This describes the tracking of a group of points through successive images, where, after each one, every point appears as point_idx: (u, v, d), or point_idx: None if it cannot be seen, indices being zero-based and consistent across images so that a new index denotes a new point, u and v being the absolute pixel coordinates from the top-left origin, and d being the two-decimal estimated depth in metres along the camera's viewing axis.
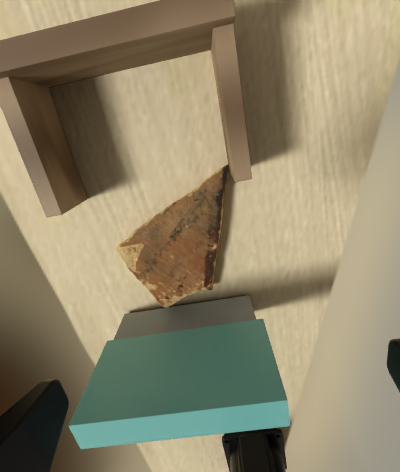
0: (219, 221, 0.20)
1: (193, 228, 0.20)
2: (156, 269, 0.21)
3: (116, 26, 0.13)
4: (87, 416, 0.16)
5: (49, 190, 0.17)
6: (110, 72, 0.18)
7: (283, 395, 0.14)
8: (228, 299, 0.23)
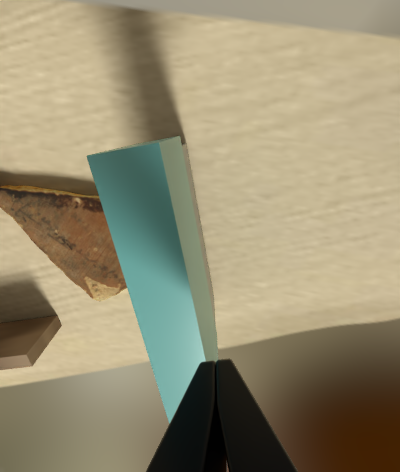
0: (44, 194, 0.17)
1: (57, 223, 0.18)
2: (113, 267, 0.19)
3: None
4: None
5: (4, 359, 0.18)
6: None
7: None
8: None
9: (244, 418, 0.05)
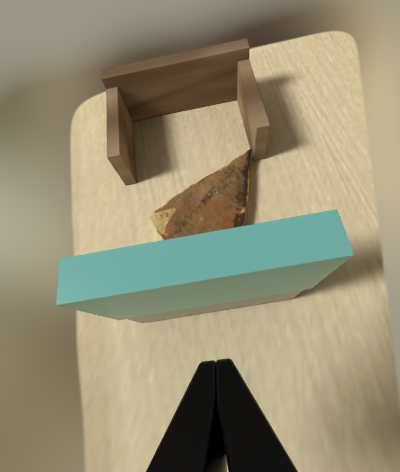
0: (246, 188, 0.23)
1: (223, 194, 0.23)
2: (184, 230, 0.22)
3: (185, 55, 0.23)
4: None
5: (117, 139, 0.22)
6: (173, 111, 0.28)
7: None
8: None
9: (244, 418, 0.05)
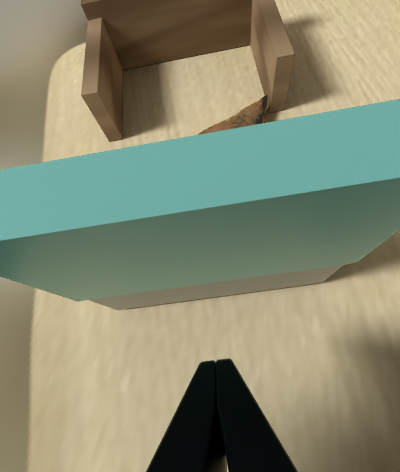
0: None
1: None
2: None
3: None
4: None
5: (96, 74, 0.17)
6: (172, 59, 0.23)
7: None
8: None
9: (244, 418, 0.05)
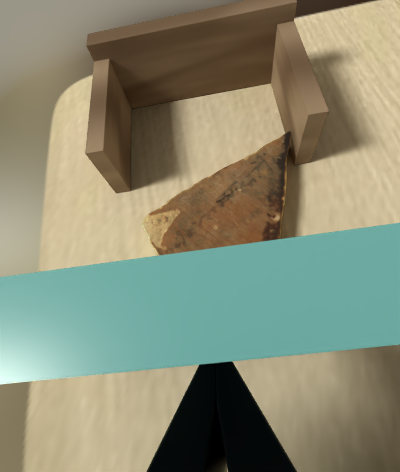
0: (282, 186, 0.16)
1: (248, 192, 0.16)
2: (190, 244, 0.15)
3: (203, 14, 0.17)
4: None
5: (102, 128, 0.15)
6: (184, 97, 0.21)
7: None
8: None
9: (243, 418, 0.05)
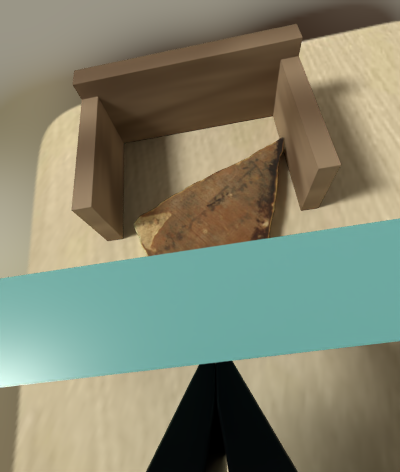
0: (273, 192, 0.16)
1: (239, 197, 0.16)
2: (179, 247, 0.15)
3: (200, 50, 0.15)
4: None
5: (90, 180, 0.14)
6: (181, 131, 0.20)
7: None
8: None
9: (244, 418, 0.05)
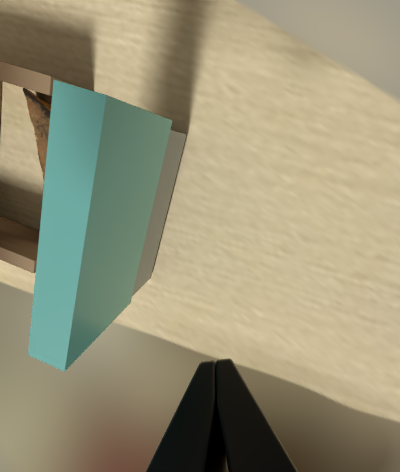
0: None
1: None
2: None
3: None
4: None
5: (15, 254, 0.20)
6: None
7: None
8: None
9: (244, 418, 0.05)
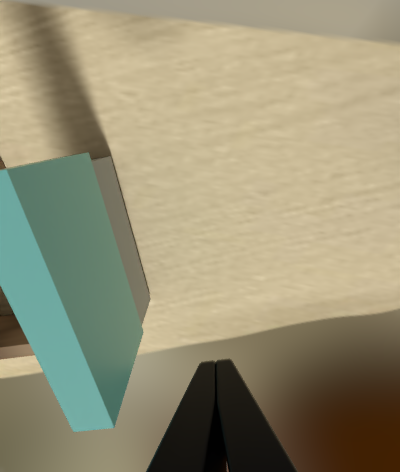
0: None
1: None
2: None
3: None
4: None
5: (14, 347, 0.19)
6: None
7: None
8: None
9: (244, 418, 0.05)
